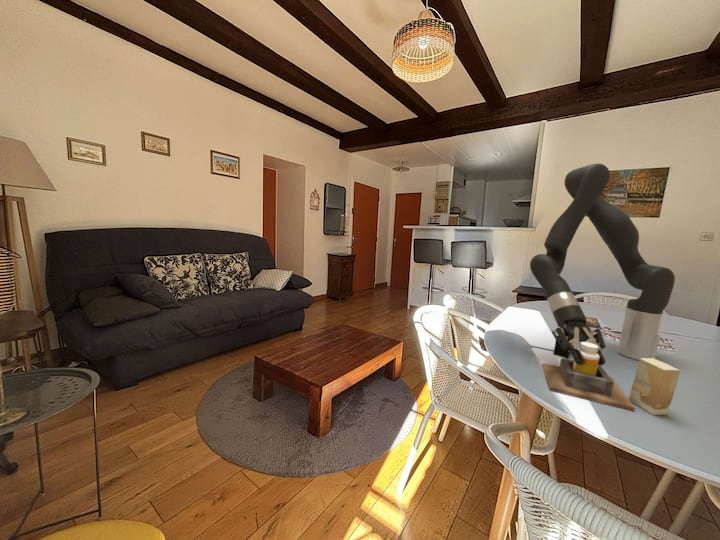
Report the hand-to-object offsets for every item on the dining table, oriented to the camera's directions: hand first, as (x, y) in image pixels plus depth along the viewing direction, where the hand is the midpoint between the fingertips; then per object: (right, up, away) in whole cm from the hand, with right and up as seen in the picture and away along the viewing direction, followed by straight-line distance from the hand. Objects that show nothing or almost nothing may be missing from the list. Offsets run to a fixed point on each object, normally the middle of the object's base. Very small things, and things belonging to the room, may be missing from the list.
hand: (591, 364), depth 80 cm
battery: (+9, -4, +24) cm, 26 cm away
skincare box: (+10, -9, -6) cm, 15 cm away
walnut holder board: (0, -7, +3) cm, 8 cm away
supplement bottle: (0, -5, +3) cm, 5 cm away
